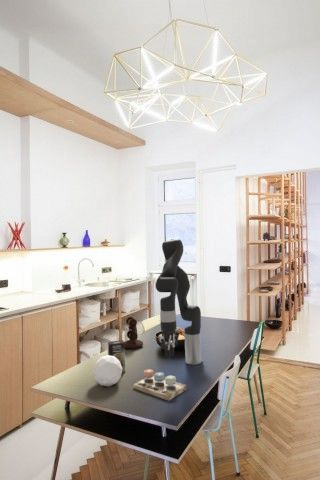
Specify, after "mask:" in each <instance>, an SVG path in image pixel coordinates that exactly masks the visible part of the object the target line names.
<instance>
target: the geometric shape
mask: <svg viewBox="0 0 320 480" xmlns="http://www.w3.org/2000/svg"><path fill="white" fill-rule="evenodd" d="M122 373H123V372H122V366H121V363H120V361H119V360H118V359H117V358H116V357H115V356H109V355H108V354H106V355H103V356H101V357H99V358H98V359H97V361H96V362H95V364H94V367H93V371H92V374H93V377H94V378H95V381H96V382H97V383H98V384H99V386H103V387H104V386H105V387H111V386H113V385H115V384H117V383H118V381H119V380H120V379H121V378H122Z"/></svg>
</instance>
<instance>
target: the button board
mask: <svg viewBox="0 0 320 480" xmlns="http://www.w3.org/2000/svg"><path fill="white" fill-rule="evenodd" d="M132 386H133V389H135V390H137V391H140V392H143V393H145V394H148V395H151V396H154V397H156V398H160V399H162V400H165V401H170V400H172V399H173V398H174V399H175V397H177V396H178V395H180V394H182V393H183V392H185V391H186V390H188V389H187V385H186V384H184V383H181V382H177V381H176V384H174V385H167V384H166V383H165V380H164V381H159V382H158V381H155V380H154V377H152V378H145V377H144V379H143V378H142V379H141V380H139V381H137V382H136V383H133V384H132Z"/></svg>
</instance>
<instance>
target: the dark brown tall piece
mask: <svg viewBox="0 0 320 480" xmlns="http://www.w3.org/2000/svg"><path fill="white" fill-rule="evenodd" d="M125 322H126V323H125V324H126V325H128V327H127V328H128V331H127V332H126V337H127V338H128V340H127V339H126V340H125V341H124V340H123V341H124V343H125V349H127V351H128V350H130V349H136V348H141V349H142V347H143V345H144V342H143V341H142V340H140V339H138V338H139V337H138V336H139V335H138V328H137V324H138V322H137V320H136V319H135V318H134V317H132V316H130V317H129V316H128V318H127V319H126V321H125Z"/></svg>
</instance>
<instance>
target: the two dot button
mask: <svg viewBox="0 0 320 480" xmlns="http://www.w3.org/2000/svg"><path fill="white" fill-rule="evenodd" d="M154 374H155V373H154V370H153V369H144V370H143V378H144V379H145V378H152V377H154Z"/></svg>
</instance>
